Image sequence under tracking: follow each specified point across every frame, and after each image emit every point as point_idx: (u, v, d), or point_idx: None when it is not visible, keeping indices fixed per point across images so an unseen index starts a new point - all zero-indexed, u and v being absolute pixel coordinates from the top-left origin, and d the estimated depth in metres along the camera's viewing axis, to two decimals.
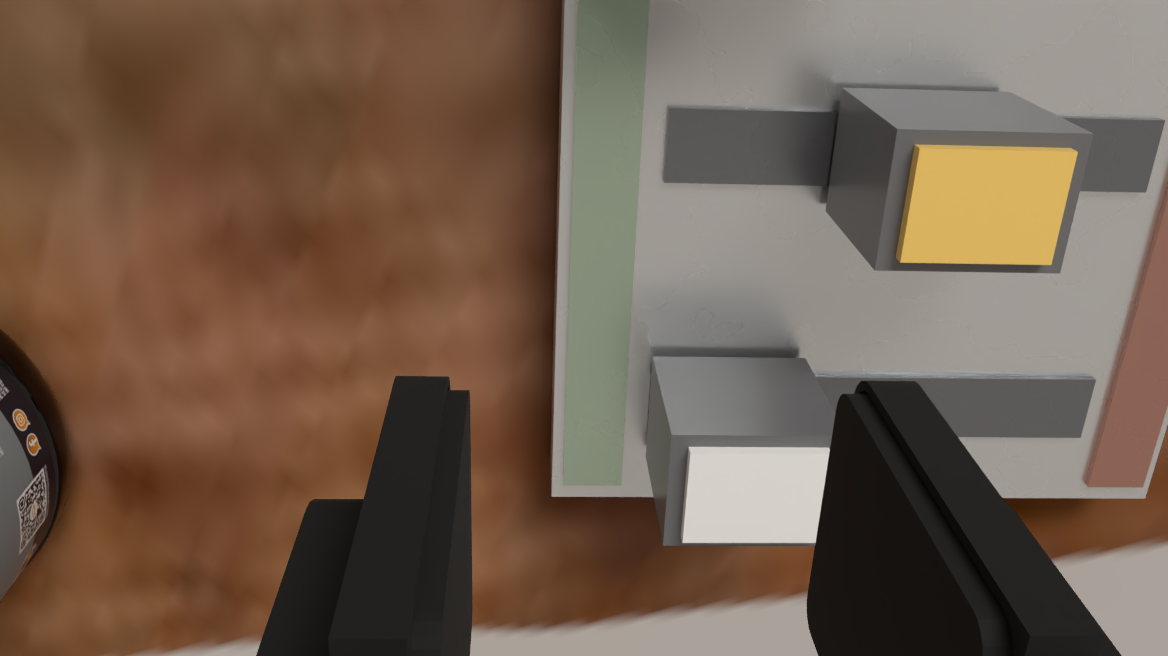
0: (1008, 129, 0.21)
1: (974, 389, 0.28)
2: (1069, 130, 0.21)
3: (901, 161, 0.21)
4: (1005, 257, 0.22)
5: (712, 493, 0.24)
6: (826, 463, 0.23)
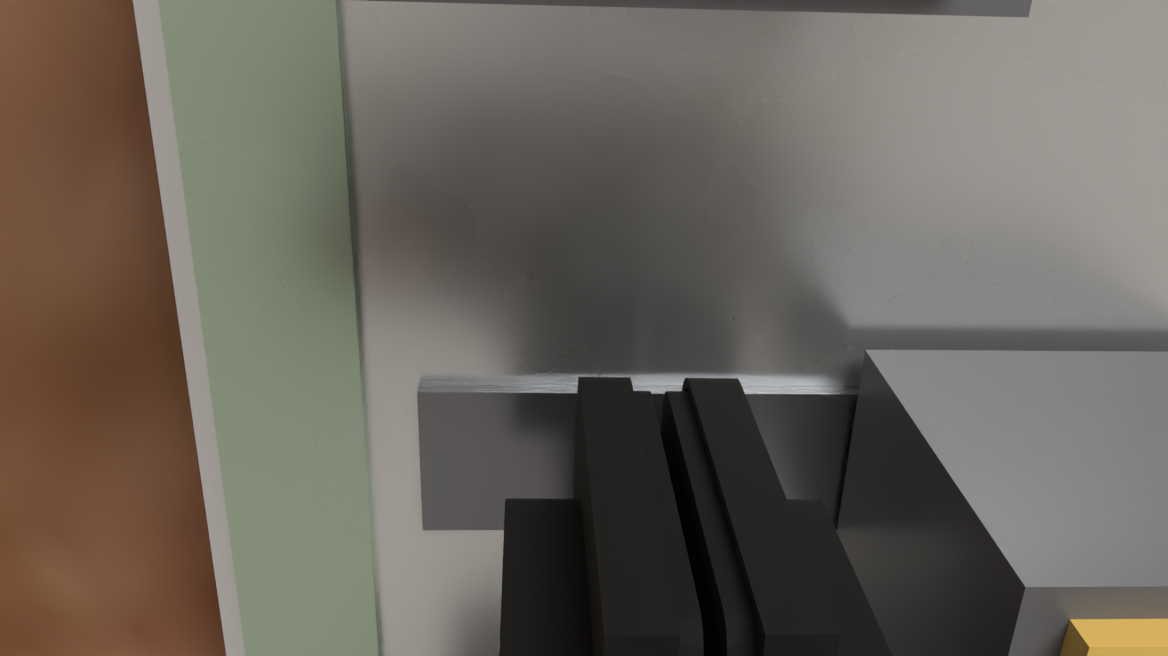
0: None
1: None
2: None
3: None
4: None
5: None
6: None
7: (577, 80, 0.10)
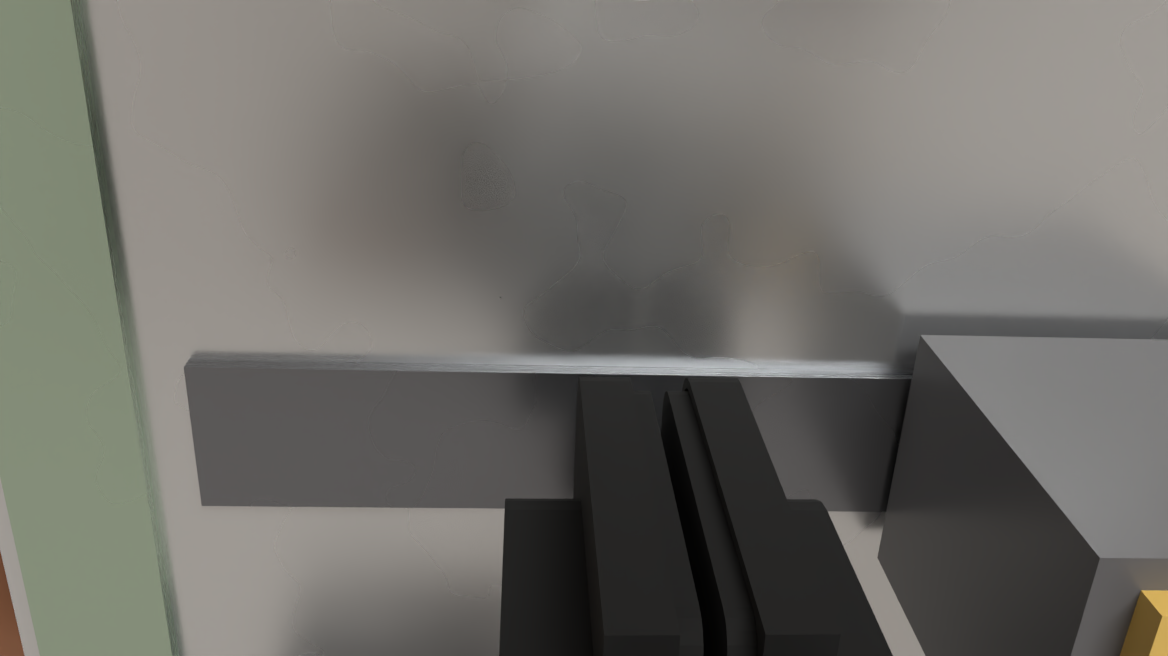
0: None
1: None
2: None
3: (1103, 626, 0.08)
4: None
5: None
6: None
7: (321, 56, 0.10)
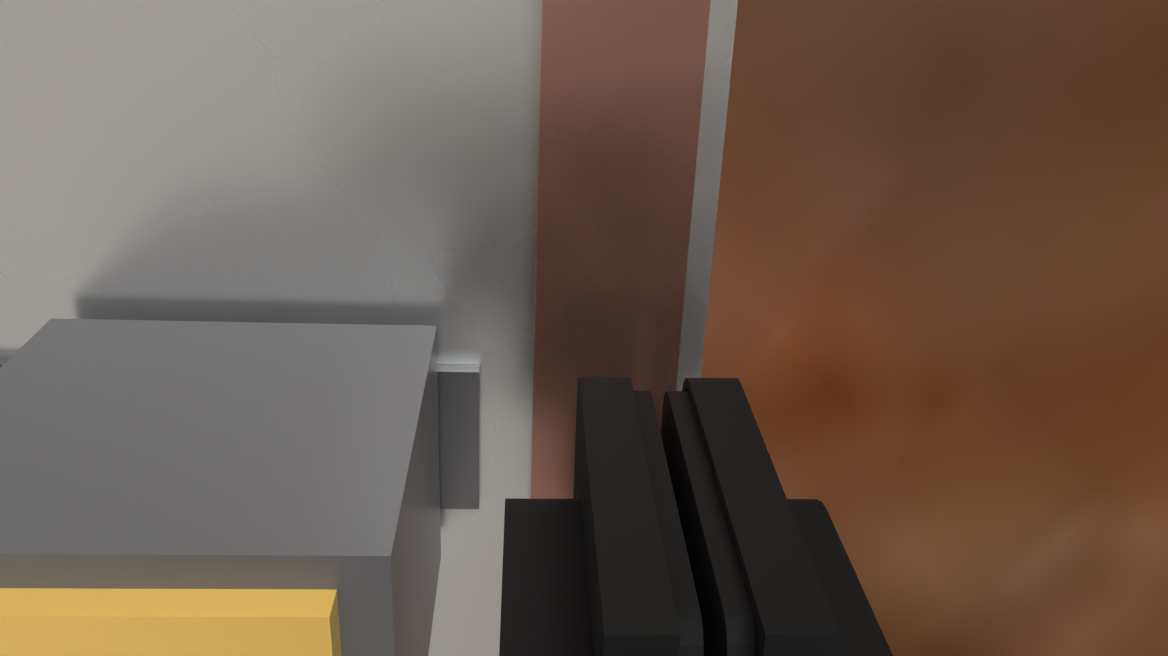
0: (164, 538, 0.08)
1: None
2: (342, 536, 0.08)
3: None
4: None
5: None
6: None
7: None
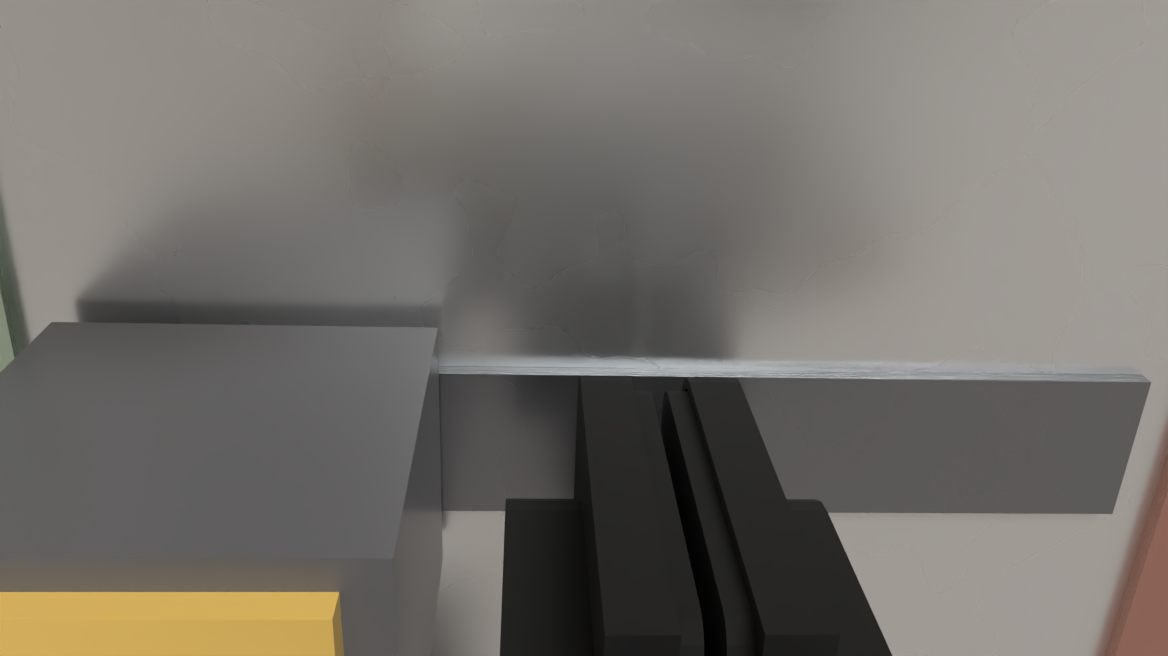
0: (165, 541, 0.08)
1: None
2: (344, 539, 0.08)
3: None
4: None
5: None
6: None
7: (201, 53, 0.10)
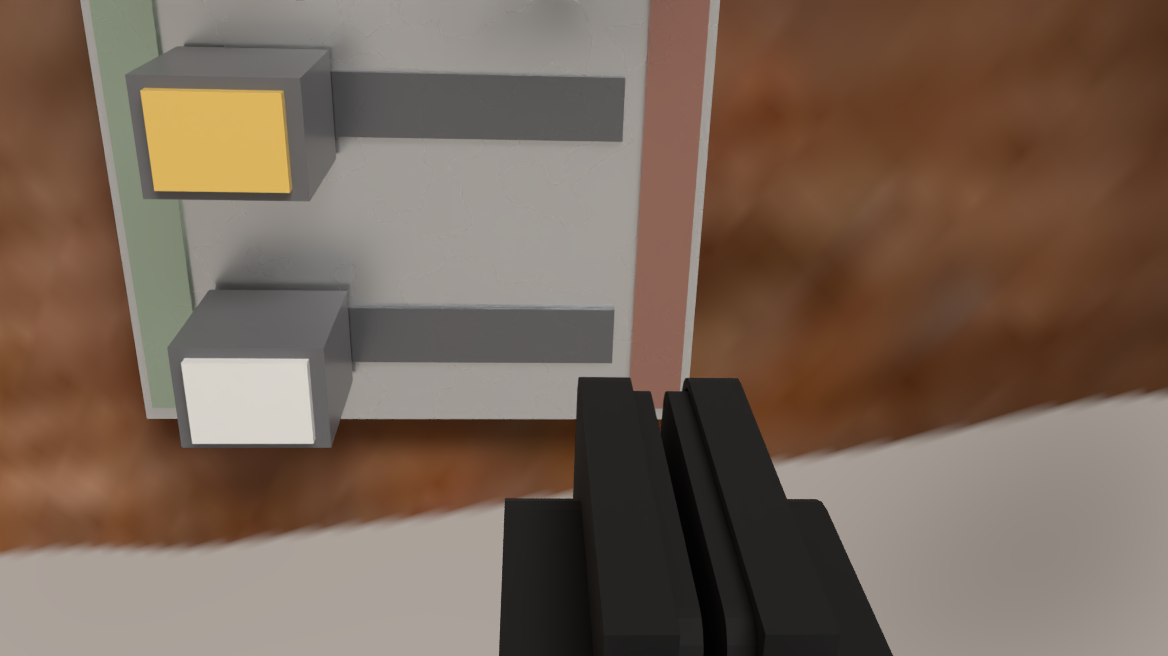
0: (230, 75, 0.25)
1: (507, 319, 0.32)
2: (285, 76, 0.25)
3: (137, 102, 0.24)
4: (247, 186, 0.25)
5: (208, 399, 0.27)
6: (303, 371, 0.27)
7: None
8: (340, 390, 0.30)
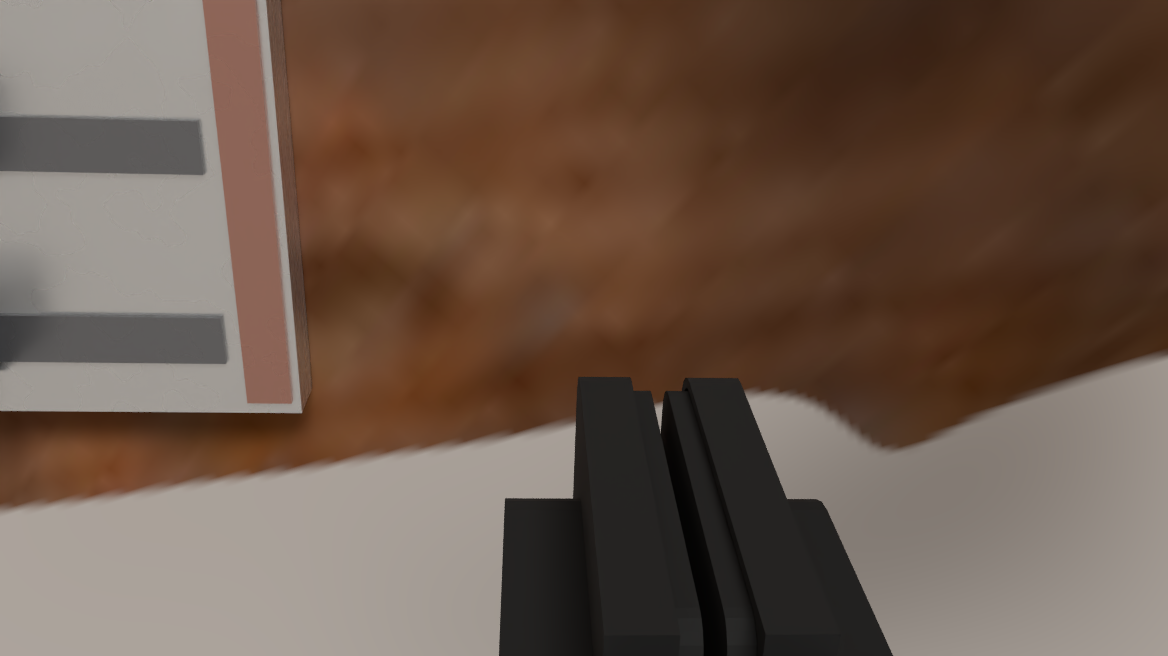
0: None
1: (127, 325, 0.37)
2: None
3: None
4: None
5: None
6: None
7: None
8: None
